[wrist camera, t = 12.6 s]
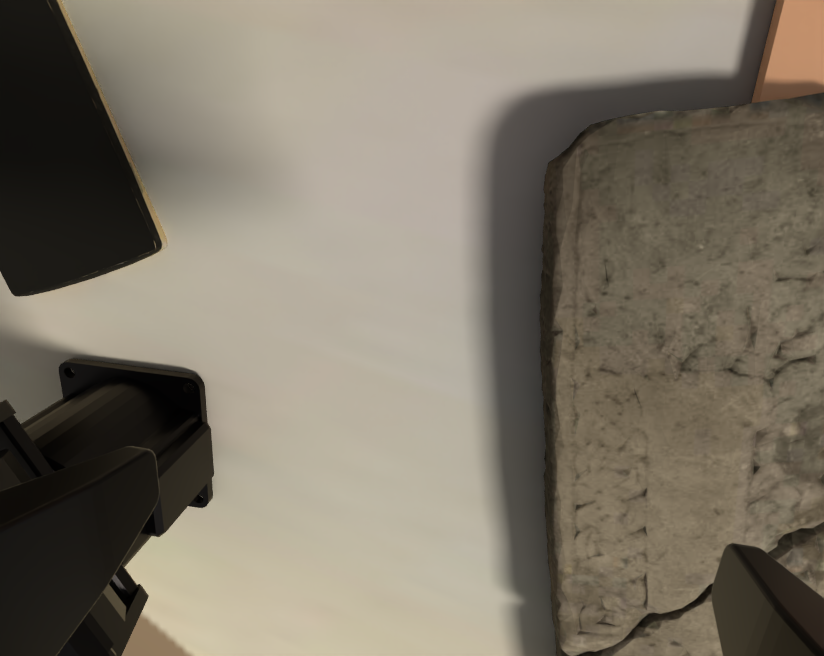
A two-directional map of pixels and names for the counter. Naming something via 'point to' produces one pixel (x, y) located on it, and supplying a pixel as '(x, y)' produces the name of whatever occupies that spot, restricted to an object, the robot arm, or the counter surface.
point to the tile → (793, 52)
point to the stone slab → (681, 367)
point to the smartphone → (62, 161)
